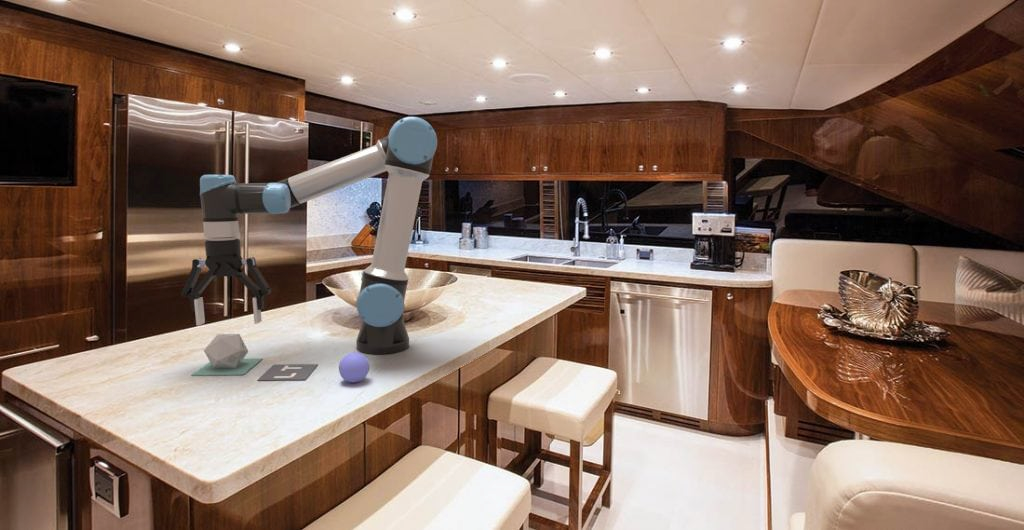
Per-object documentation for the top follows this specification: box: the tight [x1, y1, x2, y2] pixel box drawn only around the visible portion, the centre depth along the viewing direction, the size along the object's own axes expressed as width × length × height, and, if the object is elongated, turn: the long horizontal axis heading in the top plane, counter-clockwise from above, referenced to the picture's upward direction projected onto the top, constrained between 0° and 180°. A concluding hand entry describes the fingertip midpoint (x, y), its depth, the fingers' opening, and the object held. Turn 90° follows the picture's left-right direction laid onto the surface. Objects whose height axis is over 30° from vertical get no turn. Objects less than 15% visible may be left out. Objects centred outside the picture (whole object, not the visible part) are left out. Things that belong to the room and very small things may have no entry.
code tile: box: [256, 363, 318, 382], centre depth 125 cm, size 11×11×1 cm
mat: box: [190, 357, 263, 377], centre depth 128 cm, size 12×12×1 cm
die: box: [203, 333, 249, 368], centre depth 127 cm, size 8×9×10 cm
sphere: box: [338, 352, 370, 383], centre depth 121 cm, size 7×7×7 cm
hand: (229, 323), depth 127 cm, fingers open, 13 cm apart
